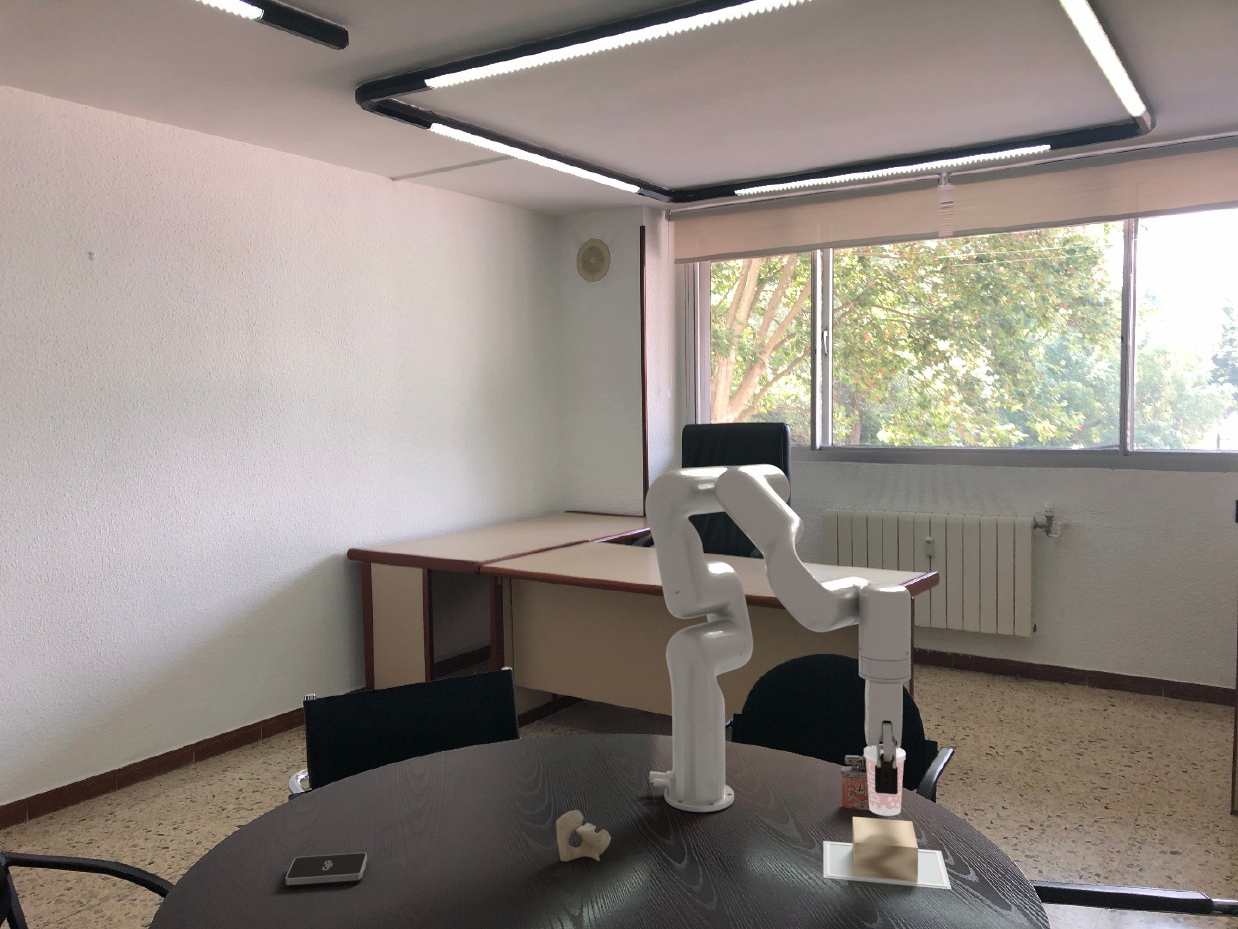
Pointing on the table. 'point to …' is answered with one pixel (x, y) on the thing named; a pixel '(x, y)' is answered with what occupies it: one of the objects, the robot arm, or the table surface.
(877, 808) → the beverage cup
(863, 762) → the lighter
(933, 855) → the white tray
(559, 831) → the bone
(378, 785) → the table surface
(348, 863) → the external hard drive
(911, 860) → the maple block
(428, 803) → the table surface
